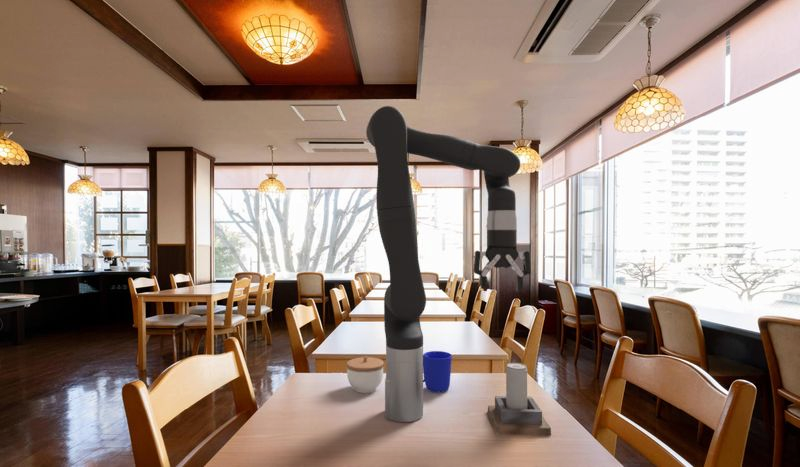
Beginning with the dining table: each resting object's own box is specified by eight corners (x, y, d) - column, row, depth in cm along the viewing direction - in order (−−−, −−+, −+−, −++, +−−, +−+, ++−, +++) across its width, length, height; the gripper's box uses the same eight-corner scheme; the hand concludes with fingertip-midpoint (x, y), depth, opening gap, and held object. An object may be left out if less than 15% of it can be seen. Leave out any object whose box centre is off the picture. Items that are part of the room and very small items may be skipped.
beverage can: (529, 420, 98) (529, 368, 98) (508, 420, 98) (508, 368, 98) (524, 411, 103) (524, 362, 103) (504, 411, 103) (504, 362, 103)
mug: (411, 383, 127) (411, 349, 127) (452, 385, 125) (452, 351, 125) (408, 393, 119) (408, 357, 119) (451, 395, 117) (451, 359, 117)
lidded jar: (382, 396, 117) (382, 362, 117) (344, 396, 117) (344, 362, 117) (384, 382, 127) (384, 351, 127) (349, 382, 127) (349, 351, 127)
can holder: (496, 433, 94) (496, 413, 94) (487, 411, 106) (487, 393, 106) (550, 435, 94) (550, 414, 94) (536, 412, 106) (536, 394, 106)
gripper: (475, 228, 106) (475, 292, 106) (533, 228, 105) (533, 293, 105) (472, 228, 114) (472, 289, 114) (525, 228, 113) (525, 289, 113)
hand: (501, 290), depth 109 cm, fingers open, 8 cm apart
